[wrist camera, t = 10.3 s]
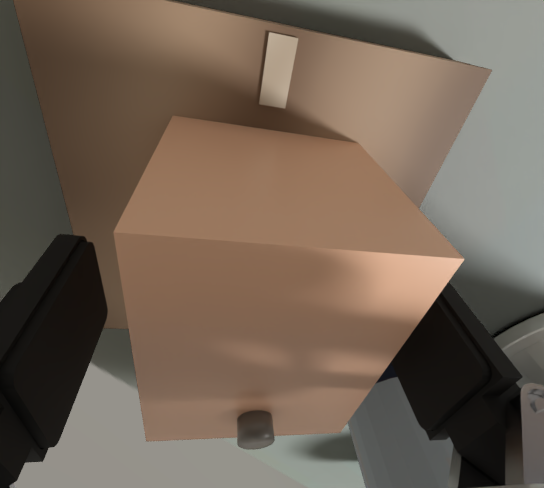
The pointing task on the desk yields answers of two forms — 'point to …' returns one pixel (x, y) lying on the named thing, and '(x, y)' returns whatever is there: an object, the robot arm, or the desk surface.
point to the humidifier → (396, 441)
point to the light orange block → (268, 281)
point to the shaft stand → (221, 98)
